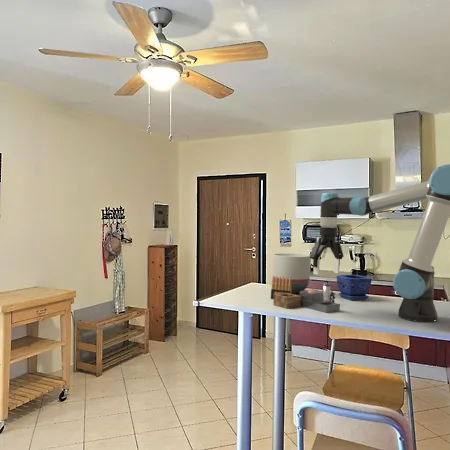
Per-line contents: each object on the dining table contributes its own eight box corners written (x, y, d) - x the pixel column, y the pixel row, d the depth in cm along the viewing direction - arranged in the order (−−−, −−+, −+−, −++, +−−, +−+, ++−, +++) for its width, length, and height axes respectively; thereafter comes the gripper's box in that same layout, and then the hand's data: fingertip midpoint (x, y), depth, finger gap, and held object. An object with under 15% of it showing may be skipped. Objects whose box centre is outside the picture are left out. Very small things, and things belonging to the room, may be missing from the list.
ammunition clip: (291, 300, 205) (292, 276, 205) (290, 301, 203) (291, 277, 203) (271, 298, 209) (272, 275, 209) (270, 299, 208) (271, 275, 207)
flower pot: (355, 295, 223) (356, 274, 223) (371, 300, 210) (372, 277, 210) (335, 296, 219) (335, 274, 219) (350, 301, 206) (350, 278, 206)
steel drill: (331, 310, 184) (332, 284, 184) (326, 311, 182) (327, 284, 182) (325, 309, 187) (326, 283, 186) (320, 309, 185) (321, 283, 184)
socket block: (339, 310, 184) (340, 295, 183) (326, 312, 178) (326, 297, 178) (309, 303, 198) (310, 289, 198) (296, 305, 193) (297, 290, 193)
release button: (316, 298, 191) (317, 291, 191) (311, 299, 189) (311, 291, 189) (311, 297, 194) (311, 290, 194) (305, 298, 192) (306, 290, 192)
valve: (306, 302, 201) (329, 306, 194) (307, 289, 201) (330, 292, 194) (312, 300, 206) (335, 304, 199) (312, 287, 206) (335, 290, 199)
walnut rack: (300, 306, 190) (300, 296, 190) (286, 308, 185) (287, 297, 185) (287, 303, 198) (287, 292, 198) (273, 305, 192) (273, 294, 192)
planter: (308, 297, 213) (309, 257, 213) (269, 295, 219) (270, 255, 218) (311, 291, 232) (312, 254, 232) (275, 289, 238) (276, 252, 238)
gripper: (339, 227, 194) (337, 271, 194) (303, 226, 180) (301, 273, 180) (352, 227, 188) (350, 273, 188) (315, 226, 174) (313, 276, 174)
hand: (326, 273), depth 184 cm, fingers open, 13 cm apart
